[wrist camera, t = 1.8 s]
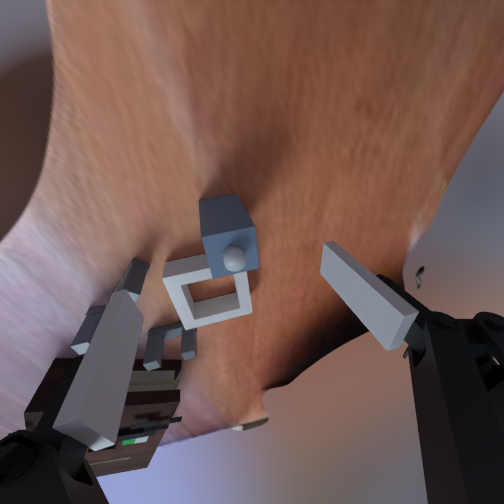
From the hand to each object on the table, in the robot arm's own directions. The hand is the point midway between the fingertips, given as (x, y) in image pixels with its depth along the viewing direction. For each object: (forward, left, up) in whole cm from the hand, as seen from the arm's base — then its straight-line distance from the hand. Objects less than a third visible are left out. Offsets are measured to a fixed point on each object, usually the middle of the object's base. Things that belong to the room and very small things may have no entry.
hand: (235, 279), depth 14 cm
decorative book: (+25, +31, -11) cm, 41 cm away
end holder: (+3, +9, -11) cm, 14 cm away
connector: (0, 0, -11) cm, 11 cm away
